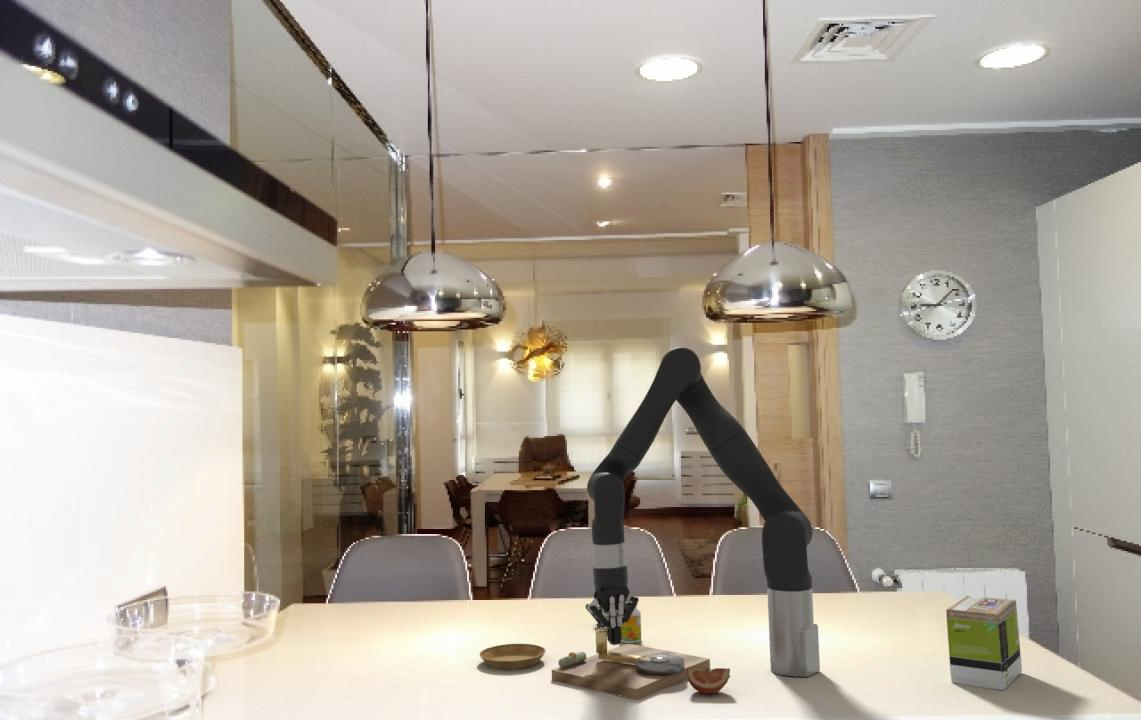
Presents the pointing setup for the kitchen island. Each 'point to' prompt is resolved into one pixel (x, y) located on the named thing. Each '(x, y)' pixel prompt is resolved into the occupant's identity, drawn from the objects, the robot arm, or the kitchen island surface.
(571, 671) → the levelling board
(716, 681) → the fruit slice
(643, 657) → the grey and tan lever
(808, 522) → the robot arm
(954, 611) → the tea box
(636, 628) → the supplement bottle
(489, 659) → the plant saucer
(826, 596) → the kitchen island surface
